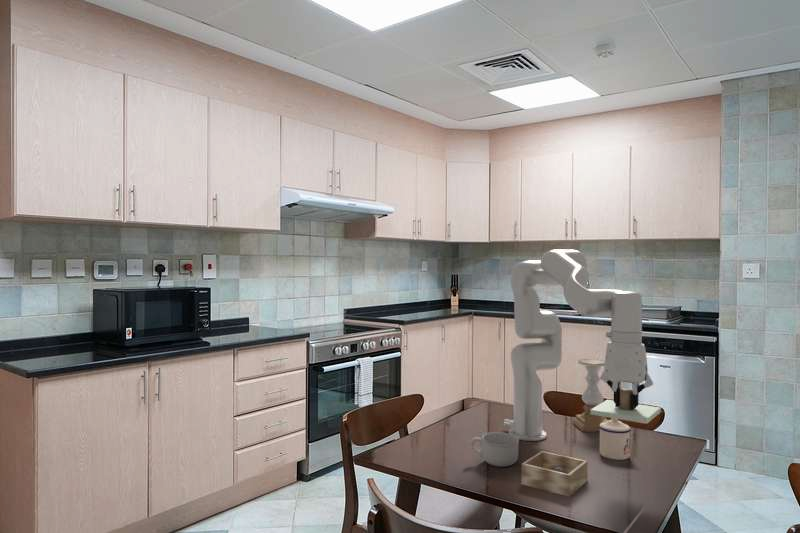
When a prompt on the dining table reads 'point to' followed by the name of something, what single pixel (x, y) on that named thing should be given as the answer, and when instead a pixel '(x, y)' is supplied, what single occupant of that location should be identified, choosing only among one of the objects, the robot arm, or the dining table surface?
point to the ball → (559, 469)
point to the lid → (626, 409)
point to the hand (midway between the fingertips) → (625, 406)
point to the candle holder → (590, 397)
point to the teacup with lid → (614, 439)
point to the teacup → (498, 448)
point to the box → (554, 473)
